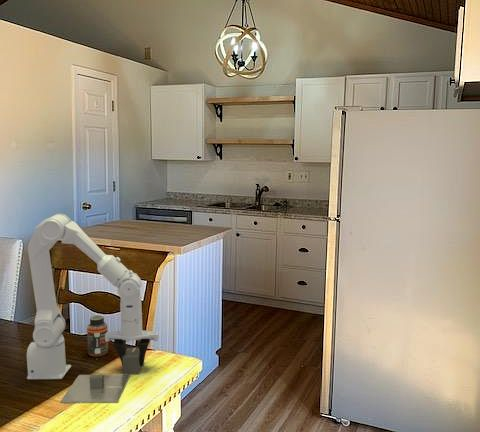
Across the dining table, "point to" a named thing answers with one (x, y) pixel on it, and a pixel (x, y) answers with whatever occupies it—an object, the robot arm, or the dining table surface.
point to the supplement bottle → (97, 336)
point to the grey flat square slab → (96, 389)
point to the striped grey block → (131, 361)
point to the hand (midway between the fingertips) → (133, 364)
